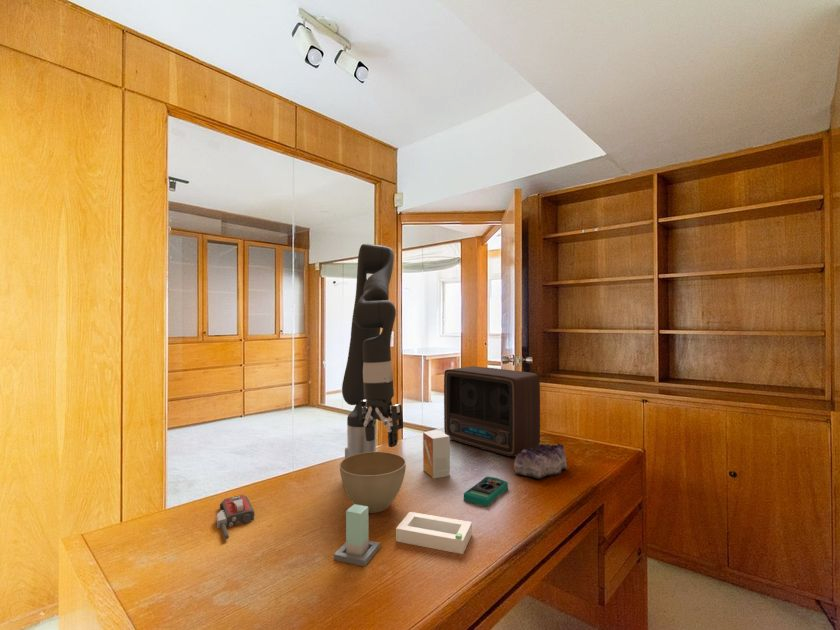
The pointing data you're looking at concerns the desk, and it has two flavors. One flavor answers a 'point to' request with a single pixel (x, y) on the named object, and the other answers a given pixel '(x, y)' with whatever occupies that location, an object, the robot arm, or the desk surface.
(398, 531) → the port panel
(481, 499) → the digital multimeter
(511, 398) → the radio
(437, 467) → the small box
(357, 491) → the flower pot
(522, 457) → the geode
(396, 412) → the robot arm
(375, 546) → the grey square ring
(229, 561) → the desk surface
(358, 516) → the plug
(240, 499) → the walkie-talkie
